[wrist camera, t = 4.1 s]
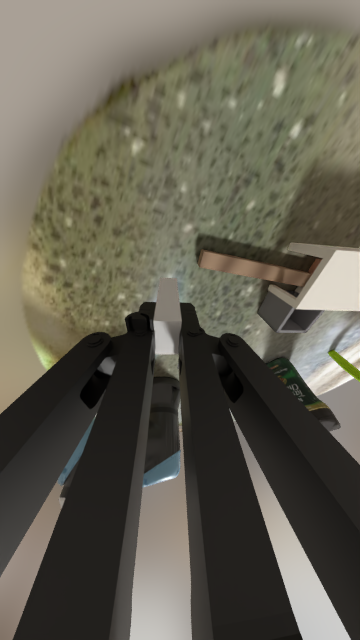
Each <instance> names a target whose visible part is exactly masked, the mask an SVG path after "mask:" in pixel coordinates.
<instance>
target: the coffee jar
mask: <svg viewBox="0 0 360 640" xmlns="http://www.w3.org/2000/svg"><path fill="white" fill-rule="evenodd" d="M266 365H267V366H268V367H269V368H270V369H271V370H272V371H273V372H274V373H275V374H276V375H277V376H278V378H279V379H280V380H281V381H282V382H283V383H284V384H285V385H286V386H287V387H288V388H289V389H290V390H291V392H292V393H293V394H294V395H295V396H296V397H297V398H298V399H299V400H300V401H301V402H302V403H303V404H304V405H305V407H306V408H307V409H308V410H309V411H310V412H311V413H312V414H313V415H314V416H315V417H316V418H317V419H318V421H319V422H320V423H321V424H322V425H323V426H324V427H325V428H326V429H327V430H328V431H333V430H336V429H339V428H340V427H341V426H340V423H339V422H338V420H337V419H336V417H335V416H334V414H333V413H332V411H331V410H330V408H329V407H328V406H327V405H326V404H325V403H323V402H322V401H320V400H319V399H318V398H317V397H316V396H315V395H314V393H313V392H312V391H311V390H310V388H309V387H308V386H307V384H306V383H305V382H304V380H303V379H302V377H301V376H300V374H299V373H298V372H297V370H296V369H295V367H294V366H293V365H292V363H291V362H290V361H289V360H288V359H286V358H279V359H277V360H274V361H272V362H270V363H268V364H266Z"/></svg>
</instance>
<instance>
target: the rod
mask: <svg viewBox="0 0 360 640" xmlns="http://www.w3.org/2000/svg"><path fill="white" fill-rule="evenodd" d="M198 265H199V267H201V268H207V269H212V270H217V271H222V272H228V273H233V274H238V275H244V276H249V277H254V278H259V279H265V280H270V281H275V282H280V283H286V284H291V285H296V286H301V287H304V286H305V285H306V283H307V282H308V280H309V279H310V277H311V276H312V274H311V273H308V272H306V271H301V270H297V269H292V268H287V267H283V266H278V265H273V264H269V263H264V262H259V261H255V260H250V259H245V258H241V257H236V256H231V255H227V254H222V253H217V252H213V251H208V250H203V249H201V252H200V256H199V260H198Z"/></svg>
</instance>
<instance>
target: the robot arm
mask: <svg viewBox="0 0 360 640" xmlns="http://www.w3.org/2000/svg"><path fill="white" fill-rule="evenodd" d="M125 322H126V326H127V331H128V332H127V333H126V334H124V335H121V336H116V337H112V338H111V337H110V336H109V334H107V333H105V332H97V333H92V334H90V335H88V336H86V337H85V338H83V339H82V340H81V341H80V342H79V343H78V344H77V345H75V346H74V347H73V348H72V349H71V350H70V351H69V352H68V353H67V354H66V355H65V356H63V357H62V358H61V359H60V360H59V361H58V362H57V363H56V364H55V365H54V366H52V367H51V368H50V369H49V370H48V371H47V372H46V373H45V374H44V375H43V376H42V377H41V378H39V379H38V380H37V381H36V382H35V383H34V384H33V385H32V386H31V387H30V388H28V389H27V390H26V391H25V392H24V393H23V394H22V395H21V396H20V397H19V398H18V399H16V400H15V401H14V402H13V403H12V404H11V405H10V406H9V407H8V408H7V409H6V410H4V411H3V412H2V413H1V414H0V576H1V575H2V573H3V571H4V569H5V568H6V566H7V564H8V563H9V561H10V559H11V558H12V556H13V554H14V553H15V551H16V549H17V547H18V546H19V544H20V542H21V541H22V539H23V537H24V536H25V534H26V532H27V530H28V529H29V527H30V525H31V524H32V522H33V520H34V519H35V517H36V515H37V513H38V512H39V510H40V509H41V507H42V505H43V503H44V502H45V500H46V498H47V497H48V495H49V493H50V492H51V490H52V488H53V486H54V485H55V483H56V481H57V480H58V484H60V485H61V486H62V485H64V487H63V490H62V492H61V495H60V498H59V502H60V505H61V512H60V514H59V517H58V520H57V522H56V525H55V528H54V530H53V533H52V536H51V538H50V541H49V544H48V547H47V549H46V552H45V555H44V557H43V560H42V563H41V565H40V568H39V571H38V574H37V576H36V579H35V581H34V584H33V587H32V589H31V592H30V595H29V598H28V600H27V603H26V606H25V608H24V611H23V614H22V617H21V619H20V622H19V625H18V627H17V630H16V632H15V635H14V638H13V640H129V638H130V627H131V612H132V587H133V577H134V566H135V556H136V547H137V537H138V527H139V516H140V506H141V496H142V487H146V486H150V485H153V484H156V483H160V482H163V481H167V480H170V479H173V478H175V477H176V476H177V475H178V474H179V471H180V452H181V450H180V440H179V422H178V407H179V403H180V398H181V415H182V432H183V449H184V466H185V482H186V483H185V484H186V500H187V518H188V532H189V533H188V535H189V552H190V568H191V623H192V640H303V639H302V636H301V634H300V631H299V628H298V625H297V622H296V619H295V617H294V614H293V611H292V608H291V604H290V601H289V598H288V595H287V592H286V588H285V585H284V582H283V579H282V576H281V572H280V569H279V567H278V563H277V560H276V557H275V554H274V550H273V547H272V544H271V541H270V538H269V534H268V531H267V528H266V525H265V521H264V518H263V515H262V512H261V509H260V505H259V503H258V499H257V496H256V493H255V490H254V486H253V483H252V480H251V477H250V474H249V470H248V467H247V464H246V461H245V458H244V454H243V451H242V448H241V445H240V442H239V439H238V435H237V432H236V429H235V426H234V423H233V419H232V416H231V413H230V411H231V412H232V414H233V416H234V418H235V420H236V422H237V424H238V426H239V427H240V429H241V431H242V433H243V435H244V437H245V439H246V441H247V442H248V444H249V447H250V448H251V450H252V452H253V454H254V456H255V458H256V460H257V462H258V464H259V465H260V468H261V469H262V471H263V473H264V475H265V477H266V479H267V481H268V483H269V484H270V486H271V488H272V490H273V492H274V494H275V496H276V498H277V500H278V502H279V504H280V505H281V507H282V509H283V511H284V513H285V515H286V517H287V519H288V521H289V523H290V524H291V526H292V528H293V530H294V532H295V534H296V536H297V538H298V540H299V541H300V543H301V545H302V547H303V549H304V551H305V553H306V555H307V556H308V559H309V561H310V562H311V564H312V566H313V568H314V570H315V572H316V574H317V576H318V578H319V579H320V581H321V583H322V585H323V587H324V589H325V591H326V593H327V595H328V597H329V599H330V600H331V602H332V604H333V606H334V608H335V610H336V612H337V614H338V616H339V618H340V619H341V621H342V623H343V625H344V627H345V629H346V631H347V632H348V635H349V636H350V638H351V640H360V465H359V464H358V462H357V461H356V460H355V459H354V458H353V457H352V456H351V455H350V454H349V453H348V452H347V451H346V450H345V448H344V447H343V446H342V445H341V444H340V443H339V442H338V441H337V440H336V439H335V438H334V437H333V436H332V435H331V433H330V432H329V431H328V430H327V429H326V428H325V427H324V426H323V425H322V424H321V423H320V422H319V421H318V419H317V418H316V417H315V416H314V415H313V414H312V413H311V412H310V411H309V410H308V409H307V408H306V407H305V405H304V404H303V403H302V402H301V401H300V400H299V399H298V398H297V397H296V396H295V395H294V394H293V393H292V392H291V390H290V389H289V388H288V387H287V386H286V385H285V384H284V383H283V382H282V381H281V380H280V379H279V378H278V376H277V375H276V374H275V373H274V372H273V371H272V370H271V369H270V368H269V367H268V366H267V365H266V364H265V363H264V361H263V360H262V359H261V358H260V357H259V356H258V355H257V354H256V353H255V352H254V351H253V350H252V349H251V347H250V346H249V345H248V344H247V343H246V342H245V341H244V340H243V339H242V338H241V337H239V336H237V335H235V334H231V333H225V334H223V335H222V336H221V337H220V338H217V337H213V336H210V335H207V334H206V333H205V331H204V329H202V328H201V327H200V325H199V321H198V318H197V315H196V311H195V307H194V306H193V305H192V304H191V303H179V294H178V286H177V278H160V283H159V289H158V295H157V301H156V302H144V303H143V304H142V305H141V306H140V309H139V312H135V313H131V314H130V315H128V316H127V317H126V318H125ZM178 353H179V360H178V369H179V381H180V382H178V381H177V380H175V379H172V378H168V377H156V378H153V376H154V366H155V354H178ZM229 409H230V410H229ZM96 414H97V415H96ZM95 415H96V417H95Z"/></svg>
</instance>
